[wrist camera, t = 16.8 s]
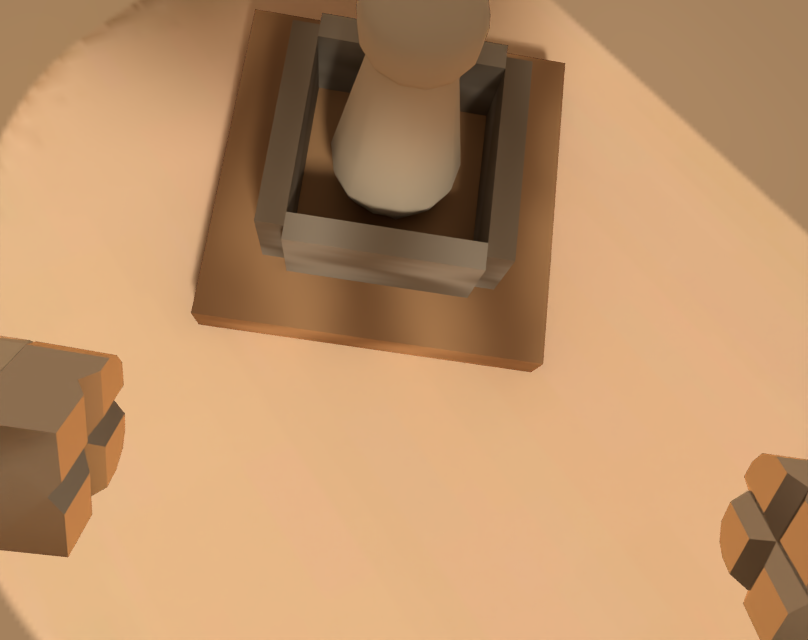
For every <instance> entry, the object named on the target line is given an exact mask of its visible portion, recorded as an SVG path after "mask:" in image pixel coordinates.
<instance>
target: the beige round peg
mask: <svg viewBox="0 0 808 640" xmlns="http://www.w3.org/2000/svg"><path fill="white" fill-rule="evenodd" d="M356 16H357V27H358V36H359V44H360V46H361V48H362V50H363V52H364V53H365V57H364V59H363V62H362V64H361V67H360V70H359V72H358V75H357V77H356V80H355V82H354V85H353V87H352V90H351V93H350V95H349V98H348V100H347V103H346V105H345V108H344V111H343V113H342V116H341V118H340V121H339V123H338V126H337V129H336V131H335V134H334V136H333V139H332V141H331V148H332V159H333V170H334V173H335V176H336V177H337V179H338V181H339V182H340V184H341V186H342V187H343V189H344V190H345V192H346V194H347V195H348V197H349V198H350V199H351V200H353V201H354V202H355V203H357V204H358V205H360V206H362V207H364V208H365V209H367V210H368V211H370V212H372V213H373V214H379V215H386V216H388V217H391V218H393V219H399V218H403V217H407V216H410V215H414V214H418V213H422V212H425V211H428V210H429V209H431V208H432V207H433V206H434V205H435V204H436V203H437V202H439V201H440V200H441V199H442V198H443V197H444V196H446V195H447V194H448V193H449V191H450V190H451V189H452V186H453V183H454V181H455V178H456V175H457V173H458V170H459V167H460V165H461V163H460V86H459V79H460V77H461V76H462V75H463V74H464V73H466V72H467V71H468V70H469V69H471V68H472V67H473V66H474V65H475V64H476V62H477V59H478V57H479V54H480V52H481V49H482V47H483V44H484V41H485V39H486V36H487V34H488V31H489V27H490V8H489V0H358V1H357V4H356Z"/></svg>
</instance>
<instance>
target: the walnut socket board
mask: <svg viewBox="0 0 808 640" xmlns="http://www.w3.org/2000/svg"><path fill="white" fill-rule="evenodd" d="M507 48H508V45H502V44H497V43H491V42H485V41H484V44H483V47H482V49H481V52H480V54H479V57H478V59H477V62H476V64H475V65H474V66H473V67H472V68H471V69H469V70H468V71H467V72H466V73H464V74H463V75H462V76H461V77H460V79H459V86H460V163H461V165H460V167H459V170H458V173H457V175H456V178H455V181H454V183H453V186H452V189H451V190H450V191H449V193H448V194H447V195H446V196H444V197H443V198H442V199H441V200H440V201H439V202H437V203H436V204H435V205H434V206H433V207H432V208H431V209H429V210H428V211H425V212H422V213H418V214H414V215H410V216H407V217H403V218H399V219H393V218H391V217H388V216H386V215H379V214H373V213H372V212H370V211H368V210H367V209H365V208H364V207H362V206H360V205H358V204H357V203H355V202H354V201H353V200H351V199H350V198H349V197H348V195H347V194H346V192H345V190H344V189H343V187H342V186H341V184H340V182H339V181H338V179H337V177H336V176H335V173H334V170H333V159H332V148H331V141H332V139H333V136H334V134H335V131H336V129H337V126H338V123H339V121H340V118H341V116H342V113H343V111H344V108H345V105H346V103H347V100H348V98H349V95H350V93H351V90H352V87H353V85H354V82H355V80H356V77H357V75H358V72H359V70H360V67H361V64H362V62H363V59H364V57H365V53H364V52H363V50H362V48H361V46H360V44H359V36H358V27H357V19H354V18H348V17H343V16H337V15H331V14H325V13H322V17H321V21H320V20H314V19H309V18H303V17H297V16H291V15H286V14H280V13H274V12H268V11H263V10H257V9H255V13H254V18H253V23H252V28H251V32H250V37H249V42H248V47H247V51H246V56H245V61H244V65H243V70H242V75H241V80H240V84H239V89H238V94H237V99H236V103H235V108H234V113H233V117H232V122H231V127H230V132H229V136H228V141H227V146H226V151H225V155H224V160H223V165H222V169H221V174H220V179H219V184H218V188H217V193H216V198H215V203H214V207H213V212H212V217H211V221H210V226H209V231H208V236H207V240H206V245H205V250H204V255H203V259H202V264H201V269H200V273H199V278H198V283H197V288H196V292H195V297H194V302H193V307H192V311H191V314H192V315H193V316H194V318H195V319H196V321H197V322H198V324H201V325H208V326H215V327H222V328H229V329H235V330H242V331H249V332H256V333H263V334H270V335H277V336H284V337H291V338H298V339H305V340H312V341H319V342H326V343H333V344H340V345H347V346H353V347H360V348H367V349H374V350H381V351H388V352H395V353H402V354H409V355H416V356H423V357H430V358H437V359H444V360H451V361H458V362H465V363H472V364H478V365H485V366H492V367H499V368H506V369H513V370H520V371H527V372H532V371H533V370H535V369H536V368H538V367H539V366H541V365H542V364H543V358H544V345H545V331H546V317H547V304H548V290H549V276H550V262H551V249H552V235H553V221H554V208H555V194H556V180H557V167H558V153H559V139H560V125H561V112H562V98H563V84H564V71H565V63H561V62H555V61H549V60H544V59H538V58H532V57H526V56H521V55H515V54H509V53H507Z"/></svg>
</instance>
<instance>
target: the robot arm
mask: <svg viewBox="0 0 808 640" xmlns="http://www.w3.org/2000/svg"><path fill="white" fill-rule="evenodd" d="M123 385H124V381H123V368H122V361H121V360H120V359H119V357H118V356H117V355H113V354H107V353H101V352H95V351H89V350H84V349H78V348H72V347H66V346H60V345H54V344H49V343H43V342H37V341H36V342H33V341H30V340H24V339H18V338H11V337H4V336H0V550H5V551H14V552H23V553H33V554H42V555H52V556H61V557H69V555H70V553H71V551H72V549H73V548H74V546H75V544H76V542H77V541H78V539H79V537H80V535H81V533H82V532H83V530H84V528H85V526H86V524H87V523H88V521H89V519H90V517H91V516H92V501H91V496H92V495H94V494H96V493H98V492H99V491H101V490H103V489H105V488H107V486H108V485H109V483H110V481H111V479H112V477H113V475H114V473H115V471H116V469H117V465H118V462H119V459H120V456H121V452H122V449H123V443H124V434H125V413H124V412H123V411H122V409H121V408H120V407H119V406H118V404H117V403H116V402H115V401H114V399H115V398H116V396H117V395H118V393H119V391H120V390H121V388H122V387H123ZM744 478H745V481H746V484H747V487H748V490H749V491H747V492H746V493H744V494H742V495H741V496H739V497H737V498H736V499H734V500H733V501H731V502H730V504H729V506H728V508H727V510H726V512H725V514H724V517H723V519H722V521H721V530H720V541H719V542H720V547H721V553H722V558H723V560H724V562H725V565H726V567H727V569H728V572H729V574H730V575H731V576H732V577H734V578H735V579H736V580H737V581H738V582H739V583H740V584H741V585H743V586H744V587H745V588H746V589H747V590H748V591H747V594H746V597H745V599H744V602H743V604H744V607H745V609H746V611H747V613H748V615H749V617H750V619H751V622H752V624H753V626H754V628H755V630H756V632H757V634H758V637H759V639H760V640H808V459H800V458H793V457H786V456H779V455H772V454H765V453H762V454H761V455H760V456H758V457H757V458H756V459H755V460H754V461H752V463H751V465H750V467H749V468H748V470H747V472H746V474H745V476H744Z"/></svg>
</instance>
